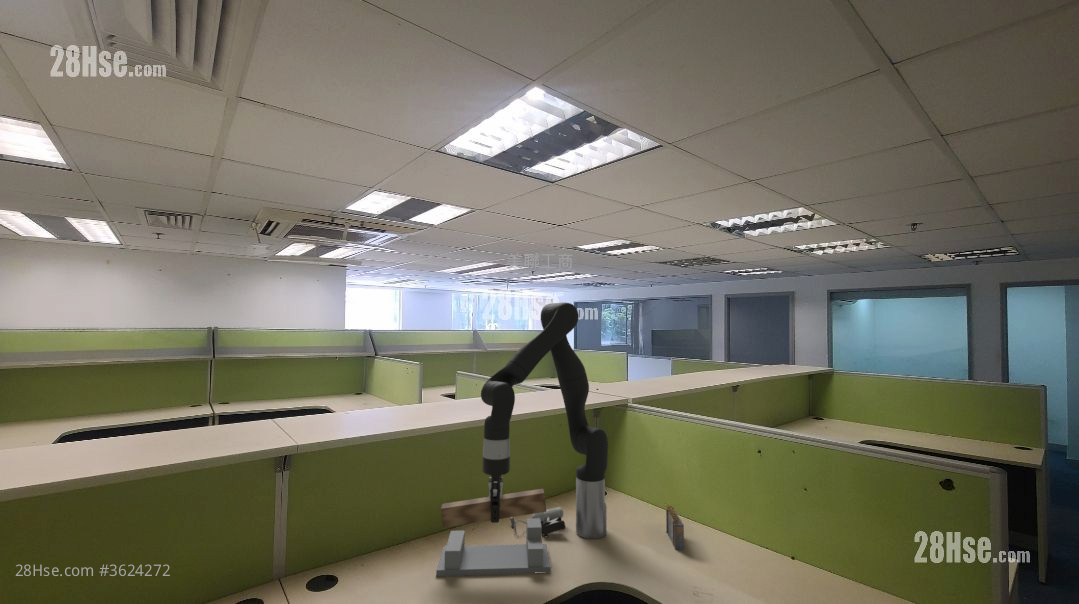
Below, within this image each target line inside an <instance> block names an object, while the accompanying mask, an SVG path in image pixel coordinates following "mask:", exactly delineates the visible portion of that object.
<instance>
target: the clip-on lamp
mask: <svg viewBox="0 0 1079 604" xmlns="http://www.w3.org/2000/svg"><path fill="white" fill-rule="evenodd" d="M563 517H564V510H563V508H562V507H560V506H558V507H552V508H548V509H547V508H546V512H541V513H535V514H531V519H534V518H540V521H541V527H542V535H543V537H544V536H548V537H549V534H552V533H555V532H558V531H561V530H565V529H566V523H565V521H564V520H562V518H563ZM509 520H510V523H511V527H512V530H515V531H516V530H517V525H516V524H517V523H518V522H520V523H523V524H525V525H527V521H525V520H521V519H518V520H516V521H515V517H510V519H509Z"/></svg>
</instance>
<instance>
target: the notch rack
mask: <svg viewBox="0 0 1079 604" xmlns="http://www.w3.org/2000/svg"><path fill="white" fill-rule="evenodd" d="M526 523H527V524H526V525H525V527H526V531H525V532H526V533H525V535H526V536H525V537H526V539H525V540H526V543H523V544H522V543H521V544H518V543H517V544H487V545H486V544H484V545H483V544H481V545H480V544H479V545H477V544H476V545H465V543H466V542H465V537H466V535H465V532H466V531H465V530H450V533H449V536H448V540H447V543H446V545H444V546H442V547H443V548H442V551H441V555H440V558H439V560H438V564H437V567H436V571H435V573H436V575H435V576H436V577H454V576H456V577H457V576H459V577H460V576H489V575H490V576H492V575H498V576H499V575H521V574H522V575H527V574H526V573H533V574H536V573H535V572H552V571H551V569H552V567H551V561H550V554H549V550H548V545H547V543H543V538H542V537H543V536H542V535H543V534H542V527H541V521H540V518H534V519H532V518H526Z"/></svg>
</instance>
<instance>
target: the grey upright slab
mask: <svg viewBox="0 0 1079 604" xmlns="http://www.w3.org/2000/svg"><path fill="white" fill-rule="evenodd" d="M664 504H665V506H666V507H667V508H666V509H665V510H666V511H665V516H666V518H665V519H666V533H667V537H668V539H669V540H670V542H671V543H672V547H673V548H674V550H677V551H685V536H684V535H685V531H684V523H683V521H682V520H681V517H679V514H678V513H677V512H676V510H675V507H674V506H672V505H669V504H668V503H666V502H664Z"/></svg>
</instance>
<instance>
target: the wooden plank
mask: <svg viewBox="0 0 1079 604" xmlns="http://www.w3.org/2000/svg"><path fill="white" fill-rule="evenodd" d="M545 496H546V495H545V490H544V488H538V489H531V490H524V491H518V492H517V491H516V492H512V493H504V494H502V498H501V499H500V508H499V520H501V519H509V518H511V517H513V518H515V517H521V516H527V515H528V516H529V515H532V514H535V513H541V512H546V510H547V505H546V497H545ZM493 503H498V502H493ZM440 513H441V522H442V528H443V529H445V528H451V527H452V528H453V527H457V526H463V525H469V524H476V523H483V522H491V508H490V498H489V496H486V497H485V496H484V497H478V498H472V499H465V500H460V501H459V500H457V501H453V502H452V501H451V502H445V503H442V505H441V507H440Z"/></svg>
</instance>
